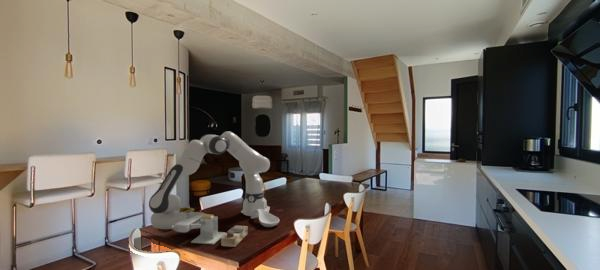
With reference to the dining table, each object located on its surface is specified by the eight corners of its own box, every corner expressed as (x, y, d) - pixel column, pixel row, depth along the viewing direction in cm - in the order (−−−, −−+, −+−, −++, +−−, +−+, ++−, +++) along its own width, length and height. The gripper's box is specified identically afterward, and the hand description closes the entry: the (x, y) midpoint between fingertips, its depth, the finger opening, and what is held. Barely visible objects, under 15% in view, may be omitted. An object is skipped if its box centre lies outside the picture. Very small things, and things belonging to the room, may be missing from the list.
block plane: (235, 232, 149) (235, 222, 149) (247, 233, 148) (247, 223, 148) (221, 245, 133) (221, 234, 133) (234, 246, 131) (234, 235, 131)
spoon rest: (283, 226, 160) (283, 214, 160) (266, 231, 152) (266, 218, 152) (261, 216, 178) (261, 205, 178) (245, 220, 170) (245, 209, 170)
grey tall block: (205, 234, 145) (205, 213, 145) (217, 235, 144) (217, 214, 144) (200, 238, 141) (200, 216, 140) (213, 239, 139) (213, 217, 139)
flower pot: (185, 221, 168) (185, 206, 168) (194, 223, 164) (194, 208, 164) (172, 225, 161) (172, 210, 161) (181, 228, 156) (181, 212, 156)
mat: (205, 232, 150) (205, 231, 150) (226, 233, 148) (226, 232, 148) (191, 242, 136) (191, 241, 136) (213, 244, 134) (213, 243, 134)
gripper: (168, 221, 134) (194, 223, 132) (191, 210, 155) (214, 211, 152) (168, 234, 135) (194, 236, 132) (191, 221, 155) (214, 222, 152)
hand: (205, 222), depth 142 cm, fingers open, 8 cm apart
